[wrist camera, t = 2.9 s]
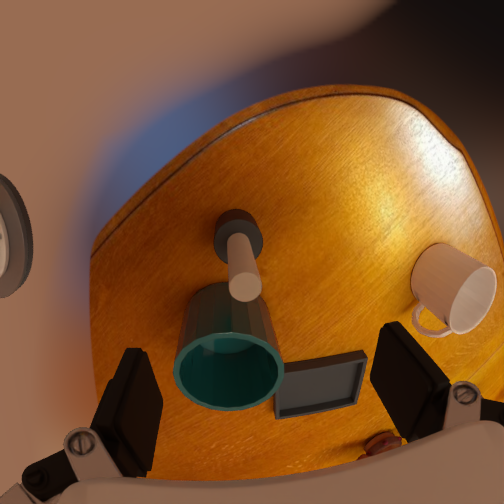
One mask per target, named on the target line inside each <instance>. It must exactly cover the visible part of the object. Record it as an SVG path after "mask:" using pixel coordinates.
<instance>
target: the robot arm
mask: <svg viewBox="0 0 504 504" xmlns="http://www.w3.org/2000/svg"><path fill="white" fill-rule="evenodd" d="M8 262H9V239H8V233H7V229H6V226H5V222H4V220H3V218H2V215H1V213H0V278H1V277H2V276H3V275H4V273H5V271H6V269H7V266H8ZM370 381H371V383H372V385H373V387H374V389H375V390H376V392H377V394H378V396H379V398H380V399H381V401H382V403H383V405H384V406H385V408H386V410H387V412H388V414H389V415H390V417H391V419H392V421H393V423H394V425H395V426H396V428H397V430H398V432H399V434H400V436H401V437H402V438H405V439H406V440H407V442H408V443H409V444H406V445H403V446H400V447H398V448H395V449H392V450H389V451H386V452H383V453H380V454H377V455H374V456H371V457H367V458H364V459H360V460H357V461H353V462H349V463H345V464H341V465H337V466H333V467H328V468H324V469H319V470H314V471H309V472H303V473H297V474H291V475H284V476H277V477H268V478H259V479H247V480H231V481H176V480H158V479H145V478H146V475H147V471H151V469H152V463H153V457H154V452H155V446H156V440H157V435H158V429H159V424H160V419H161V414H162V408H163V398H162V395H161V392H160V390H159V387H158V384H157V381H156V379H155V376H154V373H153V370H152V367H151V364H150V361H149V358H148V355H147V353H146V352H143V351H142V349H141V348H126V350H125V352H124V354H123V357H122V359H121V361H120V364H119V366H118V368H117V370H116V373H115V375H114V377H113V379H111V380H109V382H108V384H107V386H106V389H105V391H104V393H103V396H102V398H101V401H100V403H99V405H98V408H97V411H96V413H95V415H94V418H93V421H92V423H91V426H90V428H86V427H82V428H77V429H74V430H72V431H70V432H69V433H68V435H67V436H66V437H65V439H64V444H63V445H64V449H63V450H61V451H59V452H57V453H55V454H53V455H51V456H49V457H47V458H45V459H42V460H40V461H38V462H36V463H33V464H31V465H29V466H28V467H27V468H26V469H25V470H24V472H23V474H22V483H21V484H18V483H16V484H15V485H14V486H12V487H11V488H10V489H9V490H8V491H7V492H5V494H3V495H2V496H1V497H0V504H504V403H503V402H498V401H493V400H488V399H484V398H481V393H480V391H479V389H478V388H477V387H476V386H475V385H474V384H472V383H470V382H467V381H459V382H456V383H454V384H453V385H451V384H450V383H449V381H450V380H449V379H448V377H447V376H446V375H445V374H444V373H443V371H442V370H441V369H440V368H439V367H438V366H437V364H436V363H435V362H434V361H433V360H432V358H431V357H430V356H429V355H428V354H427V353H426V352H425V350H424V349H423V348H422V347H421V346H420V345H419V344H418V342H417V341H416V340H415V339H414V338H413V337H412V336H411V335H410V333H409V332H408V331H407V330H406V329H405V328H404V327H403V326H402V325H401V323H400V322H398V321H394V322H390V323H385V324H384V326H383V327H382V328H381V329H380V333H379V338H378V342H377V347H376V352H375V356H374V360H373V365H372V369H371V373H370ZM418 439H419V440H418ZM416 440H417V441H416ZM413 441H414V442H413ZM136 477H145V478H136Z"/></svg>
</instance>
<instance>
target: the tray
mask: <svg viewBox="0 0 504 504" xmlns="http://www.w3.org/2000/svg"><path fill="white" fill-rule="evenodd" d="M367 360H368V357H367V356H366V354H365V353H364V351H363V350H360V351H355V352H350V353H345V354H340V355H335V356H329V357H324V358H318V359H311V360H305V361H298V362H292V363H284V378H283V381H282V383H281V385H280V387H279V389H278V390H277V391H276V392H275V393H274V414H275V419H276V420H277V419H285V418H291V417H297V416H303V415H309V414H314V413H320V412H325V411H329V410H334V409H338V408H343V407H347V406H351V405H355V404H357V400H358V397H359V393H360V389H361V385H362V381H363V377H364V373H365V369H366V364H367Z"/></svg>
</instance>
